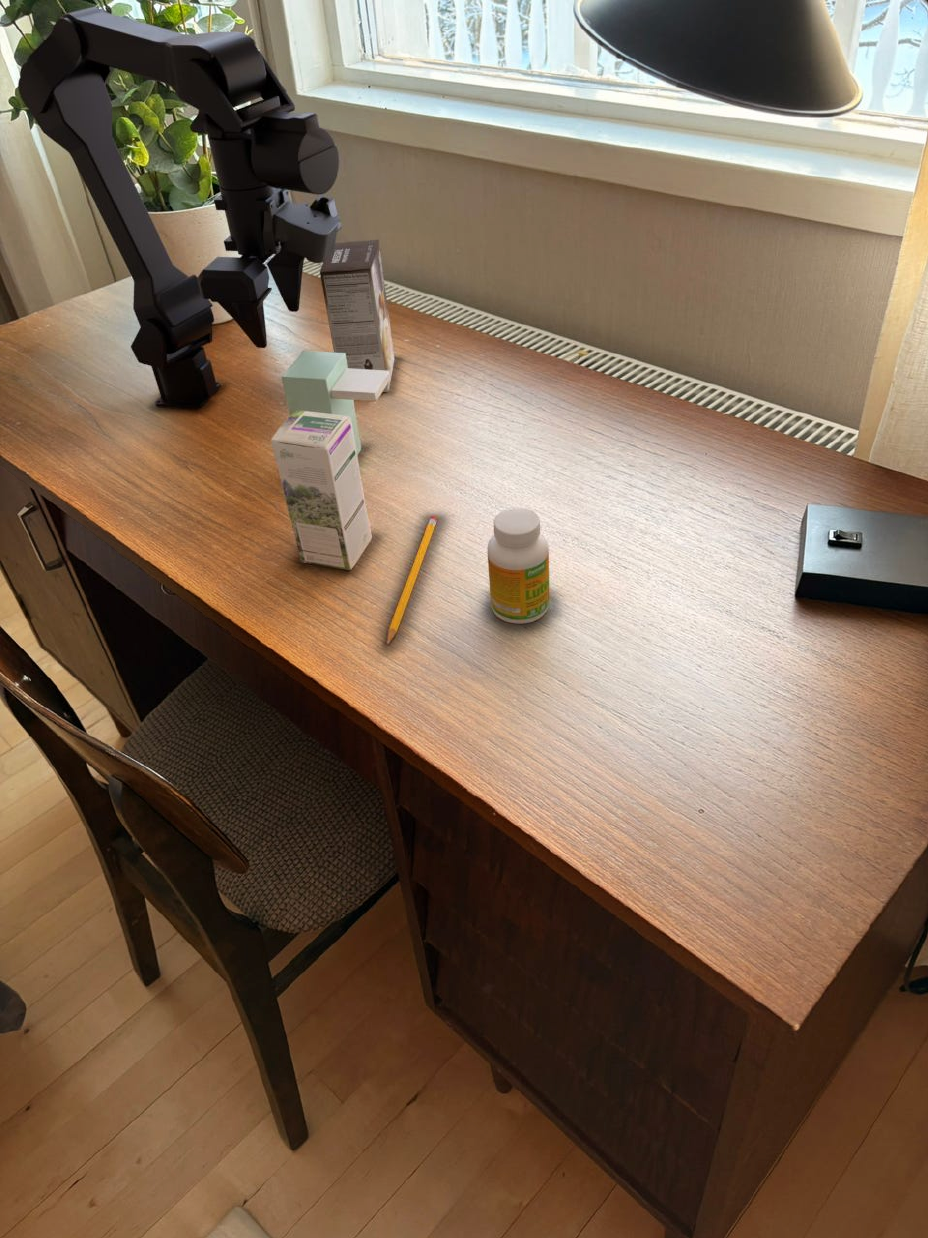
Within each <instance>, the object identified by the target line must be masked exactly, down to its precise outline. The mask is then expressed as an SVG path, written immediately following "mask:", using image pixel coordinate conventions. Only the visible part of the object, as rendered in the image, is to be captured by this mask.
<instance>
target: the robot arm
mask: <svg viewBox="0 0 928 1238" xmlns="http://www.w3.org/2000/svg"><path fill="white" fill-rule="evenodd" d="M115 69H116V70H119V71H123V72H126V73H129V74H133V75H135V76H139V77H142V78H145V79H149V80H152V81H155V82H159V83H163V84H165V85H167V86H168V87H170V88H172V89H173V91H174V93H175V94H176V96H177V99H179V100H180V101H182V102H183V103H185V104H187V105H189V106H190V107H193V108H195V109H196V110H198V113H197V115H196V117H194V119H193V120H192V122H191V123H190V124H189V129H190V130H189V131H191V132H192V133H193V134H202V135H206V136H207V140H208V143H209V149H210V153H211V157H212V162H213V165H214V171H215V175H216V178H217V183H218V186H219V192H220V194H219V195H218V196H217V197H215V198H214V199H213V202H214V203H213V204H214V207H215V210H216V211H224V214H225V218H226V222H227V223H226V224H227V227H228V230H229V236H228V237H227V238H226V239H224V240H223V245H224V249H225V252H237V254H238V255H239V256H240V257H239V256H238V257H235V256H216V258H214V259H213V260H212V261H211V262H210V263H208V264H207V265H206V266H205V267H204V268H203V269H202V270H201V272H200V273H199V275H198V276H197V275H196V274H191V275H190V276H188V275H187V274H186V273H184V272H183V271H182V270H181V269H179V268H178V267H176V266H175V265H174V263H173V261H172V260H171V258H170V257H171V256H170V255H169V252H168V251H167V248H166V247H165V245H164V243H163V240H162V239H161V236H160V235H159V233H158V230H157V228H156V226H155V223H154V221H153V220H152V217H151V216H150V215H151V214H150V213H149V211H148V209H147V207H146V205H145V203H144V201H143V199H142V197H141V194H140V192H139V190H138V188H137V186H136V184H135V182H134V180H133V178H132V176H131V173H130V172H129V170H128V168H127V165H126V163H125V161H124V158H123V156H122V155H121V152H120V150H119V149H118V147H117V144H116V142H115V140H114V137H113V110H114V109H113V103H112V99H111V97H110V94H109V91H108V89H107V87H106V85H107V84H108V82H109V80H110V78H111V76H112V75H113V72H115V71H114V70H115ZM17 87H18V93H19V96H20V98H21V100H22V103H24V106H25V107H26V108H27V109H28V110H29V112H30V113H31V115H32V117H33V119H34V120H35V122H36V123H37V125H38V127H39V128H40V130H41V132H42V133H43V134H45V135H46V136H47V137H48V138H49V139H50V140H52V141H53V142H54V143H56V144H57V145H59V146H60V147H61V148H63V149H64V150H65V151H66V152H67V153H69V155H70V156H71V159H72V160H73V162H74V165H75V167H76V168H77V170H78V172H79V175H80V176H81V178H82V180H83V182H84V185H85V187H86V188H87V191H88V192H89V194H90V196H91V198H92V200H93V202H94V204H95V206H96V208H97V210H98V213H99V214H100V216H101V219H102V220H103V222H104V225H105V226H106V228H107V230H108V232H109V234H110V236H111V238H112V240H113V242H114V244H115V246H116V248H117V250H118V252H119V254H120V256H121V258H122V260H123V262H124V264H125V266H126V268H127V270H128V272H129V274H130V276H131V278H132V280H133V303H132V305H133V308H132V309H133V312H134V314H135V317H136V319H137V322H138V324H139V326H140V327H139V330H138V331H137V334H136V335H135V337H134V339H133V341H132V343H131V345H130V349H131V351H132V352H133V354H134V356H135V358H136V360H137V361H138V363H140V364H143V365H146V366H149V367H151V370H152V374H153V377H154V379H155V383H156V385H157V389H158V392H159V395H160V396H159V397H158V398H157V399H156V400H155V401H154V404H155V406H156V407H157V408H171V409H172V408H173V409H185V410H186V409H187V410H200V409H202V408H203V407H204V406H205V405H206V404H207V403H208V402H209V400H210V399H211V398H212V397H213V396H214V395H215V394H216V393H217V392H218V391H219V390H220V388H221V386H222V384H221V382H220V381H216V378H215V374H214V370H213V367H212V362H211V360H210V359H207V355H206V352H205V348H204V346H205V345H207V344H210V343H212V342H213V323H214V322H215V317H214V312H213V309H212V307H213V303H218V304H219V306H220V307H221V308H222V309H223V310H224V311H225V312H226V314H228V315H229V316H230V317H231V318H232V320H234V322H235V323H236V324H237V325H238V327H239V328H240V329H241V331H242V332H243V333H244V334H245V335H246V337H247V338H248V339H249V340H250V342H252V344H253V345H254V346H255V347H256V348H257V349H266V348H267V346H268V342H267V341H268V339H267V329H266V319H265V318H266V317H265V311H264V302H265V300H266V299H267V297H268V296H269V295H270V293H271V292H272V290H273V287H269V283H270V275H271V276H272V279H273V281H274V283H275V285H276V288H277V289H278V292H279V294H280V296H281V298H282V300H283V303H284V304H285V306H286V308H287V311H289V312H294V313H296V312H298V311H299V310H300V303H301V292H302V291H301V290H302V289H301V288H302V282H303V281H302V279H303V269H304V264H305V263H304V262H305V260H307V261H308V262H310V263H313V264H323V262H324V261H325V259H326V257H327V256H328V255H329V254H330V253H332V252H333V251H334V247H335V243H336V240H337V235H338V233H339V232H340V230H341V229H342V228H343V225H342V222H340V219H341V216H340V215H339V214H338V210H337V206H336V203H335V199H334V198H333V197H331V196H328V195H326V193H328V192H329V191H330V190H331V189H332V188H333V186H334V185H335V183H336V179H337V178H338V174H339V169H340V152H339V147H338V146H337V145H336V143H335V141H334V138H333V137H332V135H331V134H330V133H329V132H328V130H326V129H324V128H322V127H320V122H319V117H318V114H317V113H316V112H309V111H307V112H305V111H304V112H302V113H295V110H296V105H295V103H294V102H293V101H292V98H291V97H290V95H289V94H288V92H287V90H286V88H285V87H284V86H283V85H282V83H281V82H280V80H279V79H278V77H277V76H276V75H275V72H274V71H273V69H272V68H271V66H270V65H269V63H268V62H267V60H266V59H265V57H264V56H263V54H262V53H261V51H260V50H259V49H258V47H257V45H256V41H255V39H253V38H252V37H251V36H250V35H248V34H246V33H245V32H243V31H211V32H210V31H209V32H200V33H181V32H177V31H175V30H171V29H167V28H163V27H159V26H156V25H153V24H149V23H145V22H141V21H138V20H135V19H130V18H127V17H124V16H119V15H116V14H113V13H109V12H108V10H105V9H104V8H99V7H97V6H91V7H86V8H82V9H79V10H75V11H71V12H67V13H63V14H62V15H61V16H60V18H58V19H57V20H56V21H55V24H54V26H53V28H52V31H51V32H50V34H49V35H48V36H47V37H46V38H45V39H43V41H42V42H41V43H40V44H39V45H38V46H37V47H36V48H35V50H33V52H31V53H30V55H29V56H28V58H27V59H26V62H24V63H23V64H22V65H21V68H20V71H19V79H18V83H17ZM260 98H261V99H260ZM257 99H260V100H258V101H256V102H253V103H251V104H248V105H245V106H242V107H241V108H237V109H235V108H236V107H239V106H241V105H244V104H247V103H250V102H252V101H255V100H257ZM290 191H291V192H297V193H298V192H299V193H305V194H310V195H317V196H318V195H319V196H318V197H316V199H314V201H313V202H312V203H311V204H310V206H308V205H309V203H307V202H305V201H304V202H303V203H302V204H298V203H296V202H292V200H291V196H290ZM269 272H270V275H269Z"/></svg>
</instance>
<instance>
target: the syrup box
mask: <svg viewBox="0 0 928 1238" xmlns="http://www.w3.org/2000/svg"><path fill="white" fill-rule="evenodd" d="M270 442H271V446H272V451H273V454H274V458H275V462H276V467H277V470H278V471H277V472H278V474H279V478H280V483H281V486H282V490H283V496H284V499H285V503H286V507H287V511H288V516H289V520H290V523H291V528H292V531H293V535H294V539H295V543H296V544H295V545H296V547H297V552H298V556H299V560H300V562H301V563H304V564H309V565H315V566H322V567H327V568H334V569H339V570H346V571H351V570H352V569H353V568H354V566H355V565H356V564H357V563H358V561H359V560H360V558H361V556H362V555H363V553H364V552H365V550H366V549H367V547H368V546H369V544H370V542H371V541H372V539H373V536H372V535H373V534H372V530H371V524H370V521H369V515H368V510H367V505H366V500H365V499H366V498H365V493H364V488H363V482H362V477H361V469H360V463H359V457H358V455H357V451H356V445H355V439H354V433H353V428H352V423H351V418H350V416H344V415H335V414H326V413H318V412H308V411H300V410H297V411H296V412H294V413H293V414H292V415H291V416H290V415H289V417H288V418H287V419H286V420H285V421H284V422H283V423H282V424H281V426H280V427H279V428H278V429H277V431H276V432H275V433H274V435H273V436H272V438H271V439H270Z"/></svg>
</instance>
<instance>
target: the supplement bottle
mask: <svg viewBox="0 0 928 1238" xmlns="http://www.w3.org/2000/svg"><path fill="white" fill-rule="evenodd" d="M549 546H550V545H549V541H548V540H547V538H546V536H545V535H544V534H543V533H542V532H541V519H540V517H539V515H538V514H537V513H536V512H535V511H534V510H531V509H530V508H526V507H510V508H506V509H503V510H501V511H500V512H498V513H497V514H496V515H495V516H494V519H493V535H492V536H491V537H490V539H489V540H488V544H487V566H488V580H489V594H490V607H491V610H492V612H493V614H494V615H495V616H496V617H497V618H499V619H500V620H502V621H504V622H506V623H510V624H517V625H518V624H519V625H521V624H529V623H533V622H536V621H538V620H539V619H540V618H542V617H544V615H546V613H547V612H548V610H549V606H550V549H549Z"/></svg>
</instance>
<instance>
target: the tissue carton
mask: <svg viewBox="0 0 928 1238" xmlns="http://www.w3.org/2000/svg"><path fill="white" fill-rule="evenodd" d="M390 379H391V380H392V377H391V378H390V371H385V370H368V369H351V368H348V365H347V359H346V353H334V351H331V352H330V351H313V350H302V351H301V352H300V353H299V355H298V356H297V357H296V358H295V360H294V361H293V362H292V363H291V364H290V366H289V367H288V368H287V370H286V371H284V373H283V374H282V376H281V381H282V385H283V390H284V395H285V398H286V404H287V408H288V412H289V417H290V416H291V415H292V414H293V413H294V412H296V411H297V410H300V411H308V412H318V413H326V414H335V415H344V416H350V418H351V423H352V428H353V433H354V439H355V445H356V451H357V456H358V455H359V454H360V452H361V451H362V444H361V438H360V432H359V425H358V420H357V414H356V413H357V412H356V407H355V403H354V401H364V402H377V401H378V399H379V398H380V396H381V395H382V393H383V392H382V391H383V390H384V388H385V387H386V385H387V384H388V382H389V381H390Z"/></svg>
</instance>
